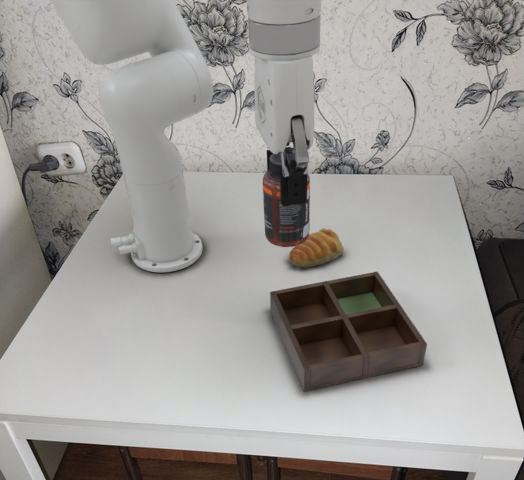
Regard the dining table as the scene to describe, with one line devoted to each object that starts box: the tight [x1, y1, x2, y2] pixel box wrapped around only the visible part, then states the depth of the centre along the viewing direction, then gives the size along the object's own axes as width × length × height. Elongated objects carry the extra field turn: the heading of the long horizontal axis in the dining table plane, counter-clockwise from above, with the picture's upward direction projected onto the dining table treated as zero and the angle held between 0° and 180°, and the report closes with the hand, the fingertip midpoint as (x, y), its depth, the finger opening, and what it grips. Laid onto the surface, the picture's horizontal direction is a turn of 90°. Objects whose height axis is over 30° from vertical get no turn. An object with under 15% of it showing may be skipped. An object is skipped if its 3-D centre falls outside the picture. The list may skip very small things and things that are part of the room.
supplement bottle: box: [262, 152, 311, 248], centre depth 75 cm, size 6×6×11 cm
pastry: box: [289, 227, 344, 269], centre depth 101 cm, size 9×7×4 cm
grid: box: [269, 271, 428, 392], centre depth 86 cm, size 17×17×4 cm
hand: (286, 189), depth 74 cm, fingers closed on supplement bottle, 6 cm apart
